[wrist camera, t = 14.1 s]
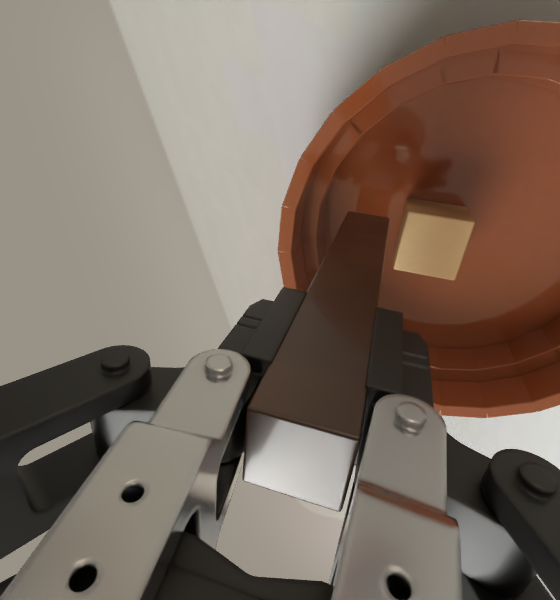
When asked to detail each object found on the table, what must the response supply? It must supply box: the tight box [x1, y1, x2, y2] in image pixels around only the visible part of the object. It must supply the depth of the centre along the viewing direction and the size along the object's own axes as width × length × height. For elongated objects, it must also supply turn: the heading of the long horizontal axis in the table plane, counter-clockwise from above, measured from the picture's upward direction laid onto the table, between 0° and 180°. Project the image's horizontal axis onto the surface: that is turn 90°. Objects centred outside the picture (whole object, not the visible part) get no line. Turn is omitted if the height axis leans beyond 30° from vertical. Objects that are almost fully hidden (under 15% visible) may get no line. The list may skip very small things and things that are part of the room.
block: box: [393, 198, 475, 280], centre depth 20 cm, size 3×3×3 cm
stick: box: [243, 211, 390, 511], centre depth 13 cm, size 2×2×14 cm
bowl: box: [278, 20, 560, 418], centre depth 19 cm, size 17×17×5 cm
